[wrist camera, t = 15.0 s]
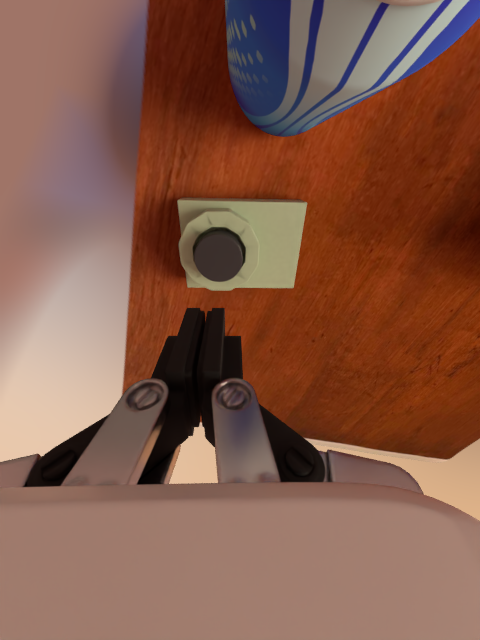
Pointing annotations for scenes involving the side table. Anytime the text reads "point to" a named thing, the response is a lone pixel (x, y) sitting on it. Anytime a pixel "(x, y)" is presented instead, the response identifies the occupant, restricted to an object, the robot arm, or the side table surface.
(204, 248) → the lid button
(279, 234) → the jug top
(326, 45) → the beer can
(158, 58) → the side table surface
